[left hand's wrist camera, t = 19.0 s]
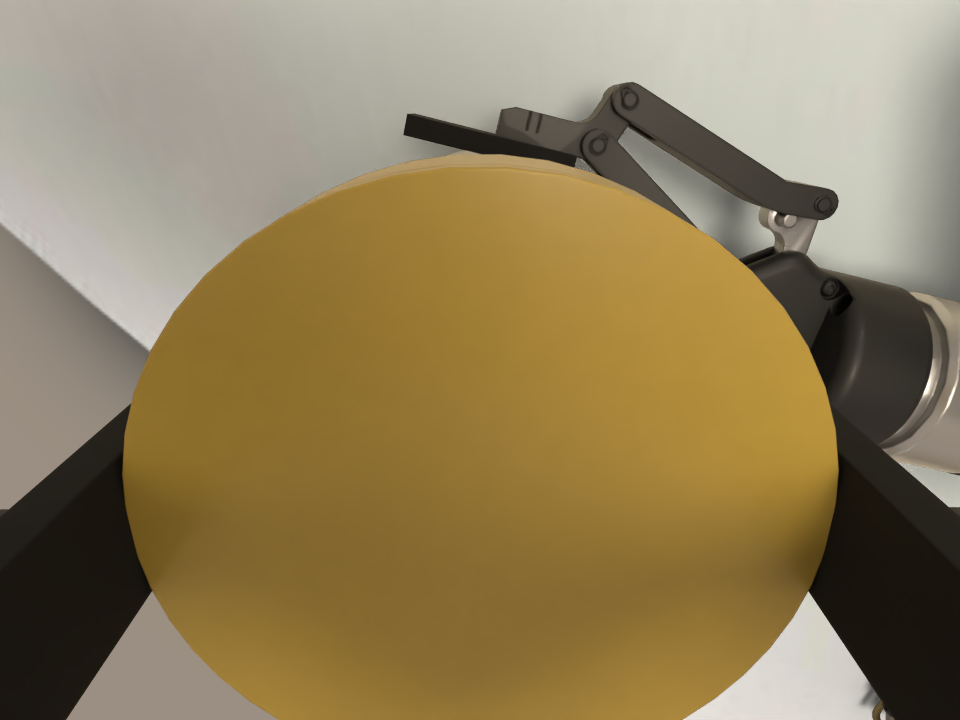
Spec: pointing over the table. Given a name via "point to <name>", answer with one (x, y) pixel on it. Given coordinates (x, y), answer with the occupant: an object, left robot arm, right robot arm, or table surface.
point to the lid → (480, 454)
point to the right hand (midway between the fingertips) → (384, 257)
